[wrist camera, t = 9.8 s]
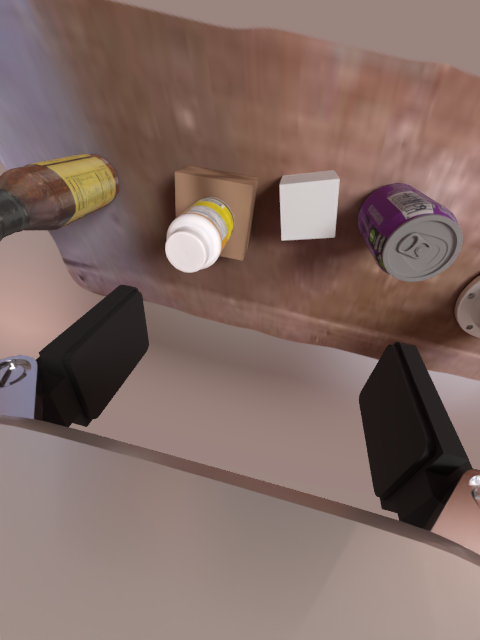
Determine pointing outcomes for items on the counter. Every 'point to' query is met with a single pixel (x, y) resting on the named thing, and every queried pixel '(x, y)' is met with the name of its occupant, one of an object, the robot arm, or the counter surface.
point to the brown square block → (228, 189)
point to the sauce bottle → (54, 192)
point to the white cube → (309, 205)
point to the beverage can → (409, 232)
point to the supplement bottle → (199, 235)
